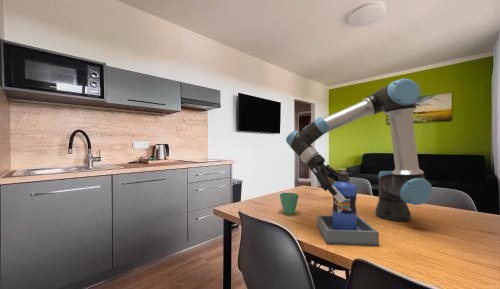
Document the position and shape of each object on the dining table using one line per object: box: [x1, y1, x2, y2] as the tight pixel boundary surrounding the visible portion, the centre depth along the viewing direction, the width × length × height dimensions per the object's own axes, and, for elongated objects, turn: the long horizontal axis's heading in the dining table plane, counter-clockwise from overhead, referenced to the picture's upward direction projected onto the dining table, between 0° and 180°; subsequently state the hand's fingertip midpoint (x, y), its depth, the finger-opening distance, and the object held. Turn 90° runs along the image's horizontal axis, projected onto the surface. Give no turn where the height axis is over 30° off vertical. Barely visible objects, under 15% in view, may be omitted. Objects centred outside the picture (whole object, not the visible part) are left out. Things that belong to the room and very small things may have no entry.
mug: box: [279, 191, 299, 216], centre depth 121 cm, size 15×10×10 cm
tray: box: [316, 214, 380, 247], centre depth 89 cm, size 18×18×5 cm
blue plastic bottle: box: [331, 169, 358, 230], centre depth 89 cm, size 9×9×25 cm
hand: (348, 198), depth 88 cm, fingers open, 13 cm apart
